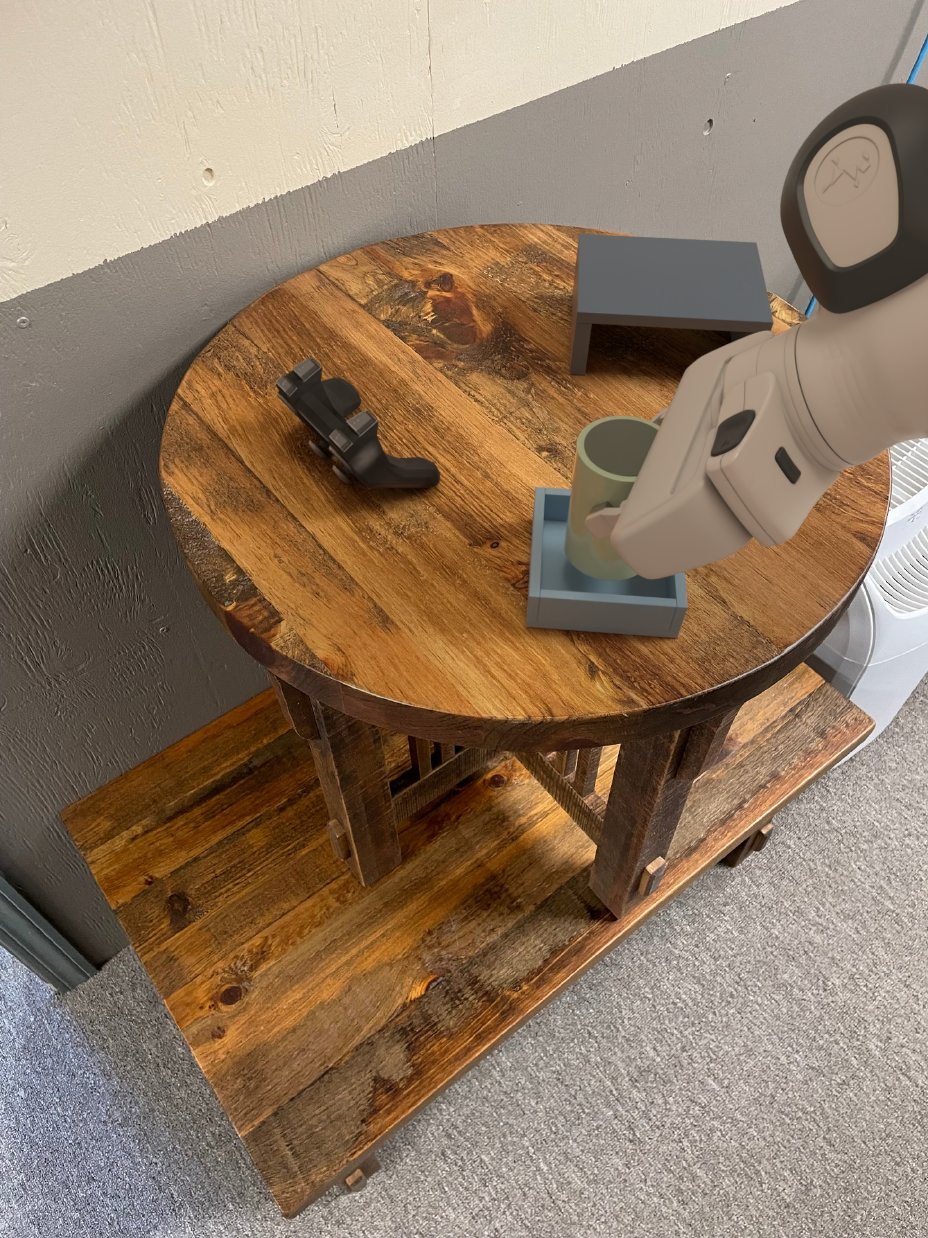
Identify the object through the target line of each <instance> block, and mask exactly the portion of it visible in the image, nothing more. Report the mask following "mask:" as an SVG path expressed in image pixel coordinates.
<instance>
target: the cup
mask: <svg viewBox="0 0 928 1238" xmlns="http://www.w3.org/2000/svg"><path fill="white" fill-rule="evenodd" d="M659 428H660V426H659V425H657V424H655V423H653V422H651V421H650V420H648V419H645V418H643V417H638V416H632V415H609V416H606V417H602V418H598V419H595V420H594V421H592V422H590V423H589V424H587V425H586V426H585V427H584V428H582V430H581V431H580V433H579V434H578V436H577V440H576V445H575V453H574V461H573V469H572V476H571V485H570V489H571V491H570V499H569V507H568V514H567V522H566V530H565V538H564V551H565V554H566V556H567V558H568V560H569V561H570V563H571V564H572V565H573V566H574V567H575V568H576V569H578V570H579V571H580V572H582V573H584V574H585V575H588V576H590V577H593V578H596V579H600V580H607V581H618V580H624V579H628V578H631V577H634V576H636V575H638V574H636V573H635V572H634V571H633V570H632V569H631V568H630V567H629V566H628V565H627V563H626V562H625V561H624V560H623V559H622V558H621V556H620V555H619V554H618V553H617V551H616V550H615V549H614V548H613V546H612V544H611V542H610V536H611V535H609V536H606V537H604V538H596V537H594V536H593V535H592V533H591V532H590V531H589V530H588V529H587V528H586V526H585V523H584V522H585V520H586V518H587V516H588V514H589V512H590V510H591V508H592V507H593V506H595V505H596V506H598V505H599V504H601V503H603V502H606V501H608V502H609V503H610V504H611V505H612V506H613V507H614V508H619V507H620V504H621V503H622V502H623V501H625V500H627V498H628V496H629V494H630V492H631V489H632V487H633V485H634V483H635V481H636V478H637V476H638V474H639V472H640V470H641V467H642V465H643V463H644V461H645V459H646V456H647V454H648V452H649V450H650V447H651V445H652V443H653V441H654V439H655V436H656V434H657V432H658V430H659Z"/></svg>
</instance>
